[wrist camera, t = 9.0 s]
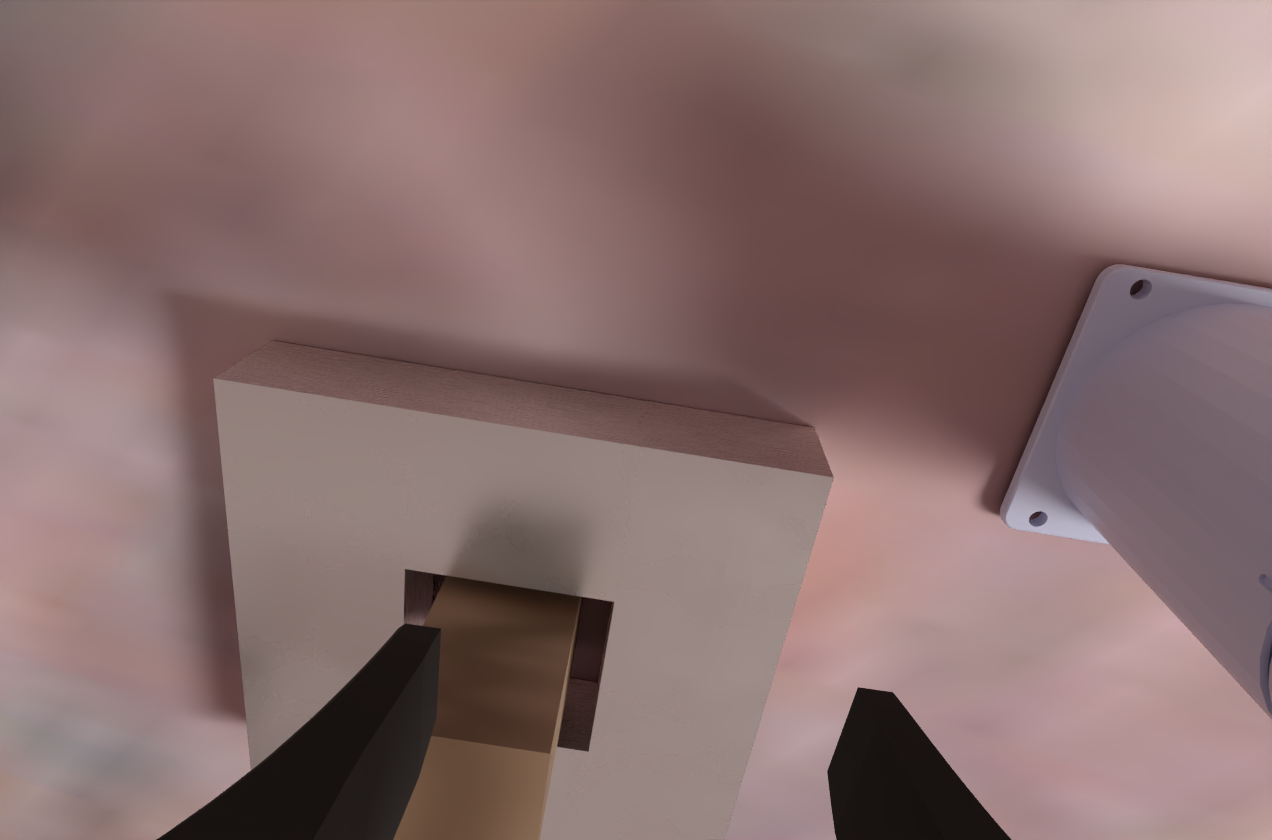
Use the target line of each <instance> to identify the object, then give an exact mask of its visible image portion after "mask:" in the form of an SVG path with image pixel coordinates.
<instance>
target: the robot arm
mask: <svg viewBox="0 0 1272 840" xmlns="http://www.w3.org/2000/svg"><path fill="white" fill-rule="evenodd" d="M1139 280H1143V287H1142V289H1141V290H1140V291H1139V292H1138V293H1136V294H1135V295H1130V289H1131V287H1132V285H1133V284H1134V283H1135V282H1137V281H1139ZM1039 511H1042V512H1041V514H1040V516H1039V517H1037V518H1035V519H1029V517H1030V516H1031V515H1032V514H1033V513H1035V512H1039ZM1000 516H1001V519H1002V520H1003V522H1004V523H1005V524H1006V525H1007V526H1008V527H1009V528H1012V529H1015V530H1021V531H1027V532H1033V533H1040V534H1046V535H1052V536H1058V537H1065V538H1071V539H1077V540H1083V541H1090V542H1096V543H1102V544H1109V545H1111V546H1112V547H1113V548H1114V549H1115V550H1116V551H1117V552H1118V553H1119V555H1120V556H1121V557H1122V558H1123V559H1124V560H1125V561H1126V562H1127V563H1128V564H1129V565H1130V566H1131V568H1132V569H1133V570H1134V571H1135V572H1136V573H1137V574H1138V575H1139V576H1140V577H1141V578H1142V579H1143V581H1144V582H1145V583H1146V584H1147V585H1148V586H1149V587H1150V588H1151V589H1152V590H1153V591H1154V592H1155V594H1156V595H1157V596H1158V597H1159V598H1160V599H1161V600H1162V601H1163V602H1164V603H1165V604H1166V605H1167V606H1168V608H1169V609H1170V610H1171V611H1172V612H1173V613H1174V614H1175V615H1176V616H1177V617H1178V618H1179V619H1180V621H1181V622H1182V623H1183V624H1184V625H1185V626H1186V627H1187V628H1188V629H1189V630H1190V631H1191V632H1192V634H1193V635H1194V636H1195V637H1196V638H1197V639H1198V640H1199V641H1200V642H1201V643H1202V644H1203V645H1204V647H1205V648H1206V649H1207V650H1208V651H1209V652H1210V653H1211V654H1212V655H1213V656H1214V657H1215V658H1216V660H1217V661H1218V662H1219V663H1220V664H1221V665H1222V666H1223V667H1224V668H1225V669H1226V670H1227V671H1228V673H1229V674H1230V675H1231V676H1232V677H1233V678H1234V679H1235V680H1236V681H1237V682H1238V683H1239V684H1240V686H1241V687H1242V688H1243V689H1244V690H1245V691H1246V692H1247V693H1248V694H1249V695H1250V696H1251V697H1252V698H1253V700H1254V701H1255V702H1256V703H1257V704H1258V705H1259V706H1260V707H1261V708H1262V709H1263V710H1264V711H1265V713H1266V714H1267V715H1268V716H1269V717H1270V718H1271V719H1272V289H1271V288H1265V287H1259V286H1253V285H1247V284H1241V283H1235V282H1229V281H1222V280H1216V279H1210V278H1204V277H1198V276H1192V275H1186V274H1180V273H1174V272H1168V271H1162V270H1156V269H1150V268H1144V267H1137V266H1131V265H1125V264H1115V265H1112V266H1109V267H1107V268H1106V269H1105V270H1103V271H1102V272H1101V273H1100V274H1099V276H1098V277H1097V279H1096V281H1095V283H1094V286H1093V288H1092V290H1091V293H1090V295H1089V297H1088V300H1087V302H1086V305H1085V307H1084V309H1083V312H1082V314H1081V317H1080V319H1079V321H1078V324H1077V326H1076V329H1075V331H1074V333H1073V336H1072V338H1071V340H1070V343H1069V345H1068V348H1067V350H1066V352H1065V355H1064V357H1063V360H1062V362H1061V364H1060V367H1059V369H1058V371H1057V374H1056V376H1055V379H1054V381H1053V383H1052V386H1051V388H1050V391H1049V393H1048V395H1047V398H1046V400H1045V403H1044V405H1043V407H1042V410H1041V412H1040V414H1039V417H1038V419H1037V422H1036V424H1035V426H1034V429H1033V431H1032V434H1031V436H1030V438H1029V441H1028V443H1027V445H1026V448H1025V450H1024V453H1023V455H1022V457H1021V460H1020V462H1019V465H1018V467H1017V469H1016V472H1015V474H1014V477H1013V479H1012V481H1011V484H1010V486H1009V488H1008V491H1007V493H1006V496H1005V498H1004V500H1003V503H1002V505H1001V508H1000ZM440 641H441V628H434V627H427V626H420V625H413V624H406V623H405V624H404V625H402V626H401V627H399V628H398V629H397V630H396V631H395V632H394V634H393V635H392V636H391V637H390V638H389V639H388V641H387V642H386V643H385V644H384V645H383V646H382V647H381V648H380V649H379V651H378V652H377V653H376V654H375V655H374V656H373V657H372V658H371V659H370V660H369V661H368V662H367V663H366V665H365V666H364V667H363V668H362V669H361V670H360V671H359V672H358V673H357V674H356V675H355V676H354V677H353V678H352V679H351V680H350V681H349V682H348V683H347V684H346V685H345V686H344V687H343V688H342V689H341V690H340V691H339V692H338V693H337V694H336V695H335V696H334V697H333V698H332V699H331V700H330V701H329V702H328V703H327V704H326V705H325V706H324V707H323V708H322V709H321V710H320V711H318V712H317V713H316V714H315V715H314V716H313V717H312V718H311V719H310V720H309V721H308V722H307V723H305V724H304V725H303V726H302V727H301V728H300V729H299V730H298V731H296V732H295V733H294V734H293V735H292V736H291V737H290V738H288V739H287V740H286V741H285V742H284V743H283V744H282V745H281V746H279V747H278V748H277V749H276V750H275V751H274V752H273V753H272V754H270V755H269V756H268V757H267V758H266V759H264V760H263V761H262V762H261V763H259V764H258V765H257V766H256V767H255V768H253V769H252V770H251V771H250V772H248V773H247V774H246V775H245V776H243V777H242V778H241V779H240V780H238V781H237V782H236V783H235V784H233V785H232V786H231V787H229V788H228V789H227V790H225V791H224V792H223V793H221V794H220V795H219V796H218V797H216V798H215V799H214V800H212V801H211V802H210V803H208V804H207V805H205V806H204V807H203V808H201V809H200V810H198V811H197V812H195V813H194V814H193V815H191V816H190V817H188V818H187V819H186V820H184V821H183V822H181V823H180V824H179V825H177V826H176V827H174V828H173V829H171V830H170V831H169V832H167V833H166V834H164V835H163V836H161V837H160V838H158V839H157V840H393V839H394V837H395V834H396V832H397V829H398V827H399V825H400V822H401V820H402V817H403V815H404V812H405V810H406V808H407V805H408V803H409V800H410V798H411V795H412V793H413V791H414V788H415V786H416V783H417V781H418V778H419V775H420V772H421V769H422V765H423V762H424V759H425V755H426V752H427V749H428V745H429V742H430V738H431V735H432V731H433V728H434V724H435V721H436V718H437V699H438V679H439V660H440ZM827 772H828V781H829V789H830V798H831V806H832V813H833V821H834V828H835V834H836V838H837V840H1011V839H1010V838H1009V836H1008V835H1007V834H1006V833H1005V832H1004V831H1003V830H1002V829H1001V827H1000V826H999V825H998V824H997V823H996V822H995V820H994V819H993V818H992V817H991V816H990V815H989V813H988V812H987V811H986V810H985V809H984V807H983V806H982V805H981V804H980V803H979V801H978V800H977V799H976V798H975V797H974V795H973V794H972V793H971V792H970V790H969V789H968V788H967V787H966V785H965V784H964V783H963V782H962V781H961V779H960V778H959V777H958V776H957V774H956V773H955V772H954V770H953V769H952V768H951V767H950V765H949V764H948V763H947V762H946V760H945V759H944V758H943V756H942V755H941V754H940V753H939V751H938V750H937V749H936V747H935V746H934V745H933V744H932V742H931V741H930V740H929V738H928V737H927V736H926V734H925V733H924V732H923V731H922V729H921V728H920V727H919V725H918V724H917V723H916V721H915V720H914V719H913V717H912V716H911V715H910V714H909V712H908V711H907V710H906V708H905V707H904V706H903V705H902V703H901V702H900V701H899V699H898V698H897V697H896V696H895V694H894V693H893V692H887V691H880V690H873V689H866V688H858V689H857V692H856V694H855V697H854V700H853V703H852V705H851V708H850V711H849V714H848V716H847V719H846V722H845V725H844V727H843V730H842V733H841V736H840V738H839V741H838V744H837V746H836V749H835V752H834V755H833V757H832V760H831V763H830V766H829V768H828V771H827Z"/></svg>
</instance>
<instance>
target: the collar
mask: <svg viewBox="0 0 1272 840" xmlns="http://www.w3.org/2000/svg"><path fill="white" fill-rule="evenodd" d="M213 382H214V392H215V403H216V413H217V423H218V434H219V444H220V455H221V465H222V475H223V486H224V496H225V506H226V517H227V527H228V537H229V548H230V558H231V568H232V579H233V589H234V599H235V610H236V620H237V631H238V641H239V651H240V662H241V672H242V682H243V693H244V703H245V713H246V724H247V734H248V744H249V755H250V765H251V770H252V769H253V768H255V767H256V766H257V765H258V764H259V763H261V762H262V761H263V760H264V759H266V758H267V757H268V756H269V755H270V754H272V753H273V752H274V751H275V750H276V749H277V748H278V747H279V746H281V745H282V744H283V743H284V742H285V741H286V740H287V739H288V738H290V737H291V736H292V735H293V734H294V733H295V732H296V731H298V730H299V729H300V728H301V727H302V726H303V725H304V724H305V723H307V722H308V721H309V720H310V719H311V718H312V717H313V716H314V715H315V714H316V713H317V712H318V711H320V710H321V709H322V708H323V707H324V706H325V705H326V704H327V703H328V702H329V701H330V700H331V699H332V698H333V697H334V696H335V695H336V694H337V693H338V692H339V691H340V690H341V689H342V688H343V687H344V686H345V685H346V684H347V683H348V682H349V681H350V680H351V679H352V678H353V677H354V676H355V675H356V674H357V673H358V672H359V671H360V670H361V669H362V668H363V667H364V666H365V665H366V663H367V662H368V661H369V660H370V659H371V658H372V657H373V656H374V655H375V654H376V653H377V652H378V651H379V649H380V648H381V647H382V646H383V645H384V644H385V643H386V642H387V641H388V639H389V638H390V637H391V636H392V635H393V634H394V632H395V631H396V630H397V629H398V628H399V627H401V626H402V625H404V624H405V623H406V624H413V625H420V626H423V624H424V622H425V620H426V618H427V616H428V614H429V611H430V609H431V607H432V602H433V580H434V574H440V575H446V576H453V577H459V578H465V579H472V580H478V581H485V582H491V583H497V584H504V585H510V586H517V587H523V588H529V589H536V590H542V591H548V592H555V593H561V594H568V595H574V596H580V597H587V598H593V599H599V600H606V601H612V604H611V609H610V615H609V621H608V627H607V633H606V639H605V645H604V650H603V656H602V662H601V668H600V674H599V680H598V682H593V681H587V680H580V679H574V678H570V679H569V684H568V689H567V695H566V700H565V706H564V711H563V716H562V722H561V727H560V733H559V738H558V743H557V749H556V754H555V759H554V765H553V770H552V776H551V781H550V786H549V792H548V797H547V803H546V808H545V813H544V819H543V824H542V829H541V835H540V840H724V839H725V836H726V833H727V829H728V826H729V823H730V819H731V816H732V813H733V809H734V806H735V803H736V800H737V796H738V793H739V790H740V786H741V783H742V780H743V776H744V773H745V770H746V766H747V763H748V760H749V756H750V753H751V750H752V747H753V743H754V740H755V737H756V733H757V730H758V727H759V723H760V720H761V717H762V713H763V710H764V707H765V703H766V700H767V697H768V694H769V690H770V687H771V684H772V680H773V677H774V674H775V670H776V667H777V664H778V660H779V657H780V654H781V650H782V647H783V644H784V641H785V637H786V634H787V631H788V627H789V624H790V621H791V617H792V614H793V611H794V607H795V604H796V601H797V597H798V594H799V591H800V588H801V584H802V581H803V578H804V574H805V571H806V568H807V564H808V561H809V558H810V554H811V551H812V548H813V545H814V541H815V538H816V535H817V531H818V528H819V525H820V521H821V518H822V515H823V511H824V508H825V505H826V501H827V498H828V495H829V492H830V488H831V485H832V482H833V478H834V477H833V474H832V472H831V469H830V466H829V464H828V461H827V459H826V456H825V453H824V451H823V448H822V446H821V443H820V440H819V438H818V435H817V433H816V430H815V428H813V427H807V426H801V425H794V424H788V423H782V422H776V421H770V420H763V419H757V418H751V417H745V416H738V415H732V414H726V413H720V412H714V411H707V410H701V409H695V408H689V407H682V406H676V405H670V404H664V403H658V402H651V401H645V400H639V399H633V398H626V397H620V396H614V395H608V394H601V393H595V392H589V391H583V390H577V389H570V388H564V387H558V386H552V385H545V384H539V383H533V382H527V381H521V380H514V379H508V378H502V377H496V376H489V375H483V374H477V373H471V372H465V371H458V370H452V369H446V368H440V367H433V366H427V365H421V364H415V363H409V362H402V361H396V360H390V359H384V358H377V357H371V356H365V355H359V354H352V353H346V352H340V351H334V350H328V349H321V348H315V347H309V346H303V345H296V344H290V343H284V342H278V341H271V342H269V343H267V344H266V345H264V346H263V347H261V348H260V349H258V350H257V351H255V352H253V353H252V354H250V355H249V356H247V357H246V358H244V359H243V360H241V361H239V362H238V363H236V364H235V365H233V366H232V367H230V368H228V369H227V370H225V371H224V372H222V373H221V374H219V375H218V376H216V377H214V378H213Z"/></svg>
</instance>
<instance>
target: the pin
mask: <svg viewBox="0 0 1272 840" xmlns="http://www.w3.org/2000/svg"><path fill="white" fill-rule="evenodd" d="M582 599H583V597H580V596H574V595H568V594H561V593H555V592H548V591H542V590H536V589H529V588H523V587H517V586H510V585H504V584H497V583H491V582H485V581H478V580H472V579H465V578H459V577H453V576H446V578H445V580H444V582H443V584H442V586H441V588H440V590H439V592H438V594H437V597H436V599H435V601H434V603H433V605H432V607H431V609H430V611H429V614H428V616H427V618H426V620H425V622H424V624H423V626H427V627H434V628H441V641H440V660H439V679H438V699H437V718H436V721H435V724H434V728H433V731H432V735H431V738H430V742H429V745H428V749H427V752H426V755H425V759H424V762H423V765H422V769H421V772H420V775H419V778H418V781H417V783H416V786H415V788H414V791H413V793H412V795H411V798H410V800H409V803H408V805H407V808H406V810H405V812H404V815H403V817H402V820H401V822H400V825H399V827H398V829H397V832H396V834H395V837H394V839H393V840H540V835H541V829H542V824H543V819H544V813H545V808H546V803H547V797H548V792H549V786H550V781H551V776H552V770H553V765H554V759H555V754H556V749H557V743H558V738H559V733H560V727H561V722H562V716H563V711H564V706H565V700H566V695H567V689H568V684H569V679H570V673H571V668H572V663H573V657H574V652H575V646H576V640H577V633H578V626H579V619H580V612H581V606H582Z"/></svg>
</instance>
